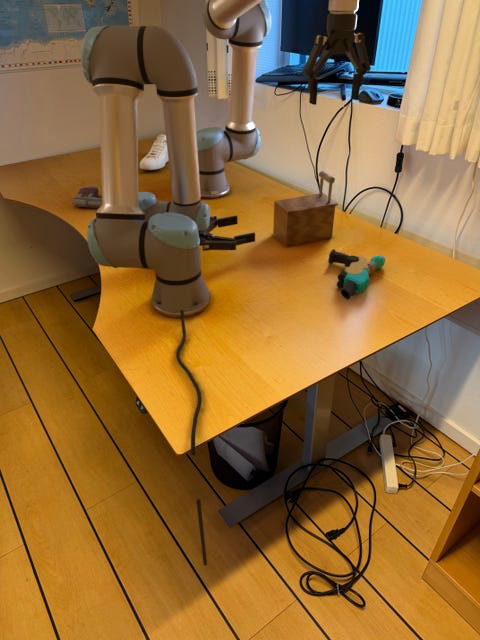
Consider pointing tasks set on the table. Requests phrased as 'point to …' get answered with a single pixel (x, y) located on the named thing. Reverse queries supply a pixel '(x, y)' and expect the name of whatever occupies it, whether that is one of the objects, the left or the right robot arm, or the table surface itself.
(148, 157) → the sneaker
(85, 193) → the toy gun
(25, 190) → the table surface
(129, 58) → the left robot arm
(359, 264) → the toy gun
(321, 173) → the lid
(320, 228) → the chest
